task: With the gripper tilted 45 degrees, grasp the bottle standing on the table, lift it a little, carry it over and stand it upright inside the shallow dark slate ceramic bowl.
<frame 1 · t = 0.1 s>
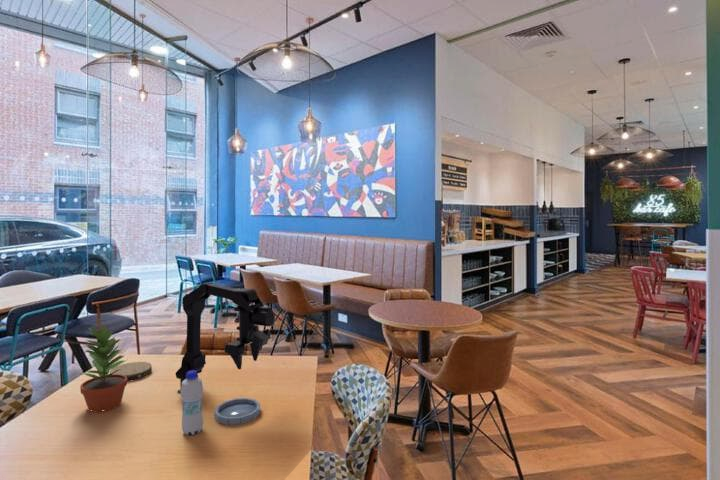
hand: (247, 364, 148), 15 cm above the table, tool pointing down, fingers open, 9 cm apart
bowl: (237, 413, 140), on the table
potted plant: (106, 405, 146), on the table
wood slice: (131, 375, 175), on the table
bottle: (192, 431, 129), on the table
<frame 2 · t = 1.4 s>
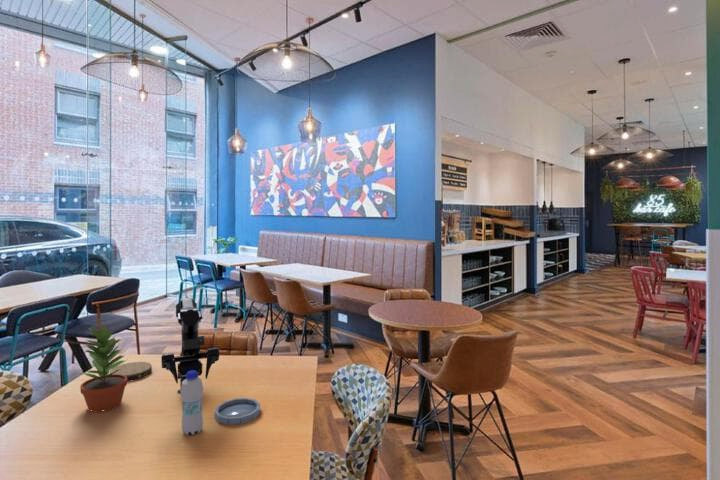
hand: (192, 380, 136), 13 cm above the table, tool tilted 45°, fingers open, 9 cm apart
nothing on the table moved.
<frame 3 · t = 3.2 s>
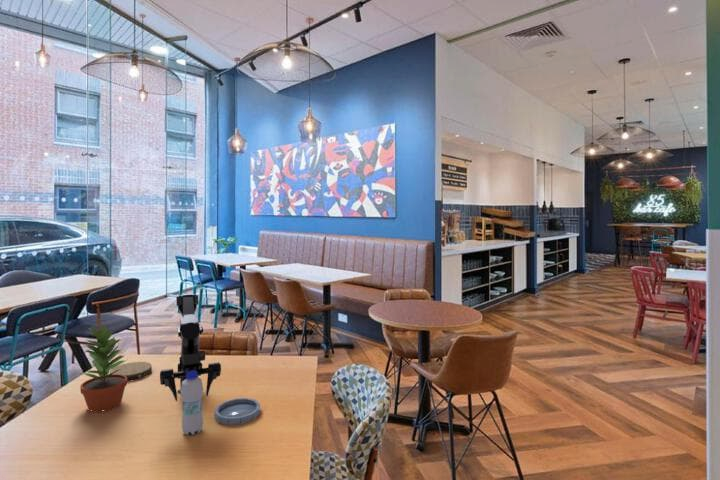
hand: (192, 398, 129), 11 cm above the table, tool tilted 45°, fingers open, 9 cm apart
nothing on the table moved.
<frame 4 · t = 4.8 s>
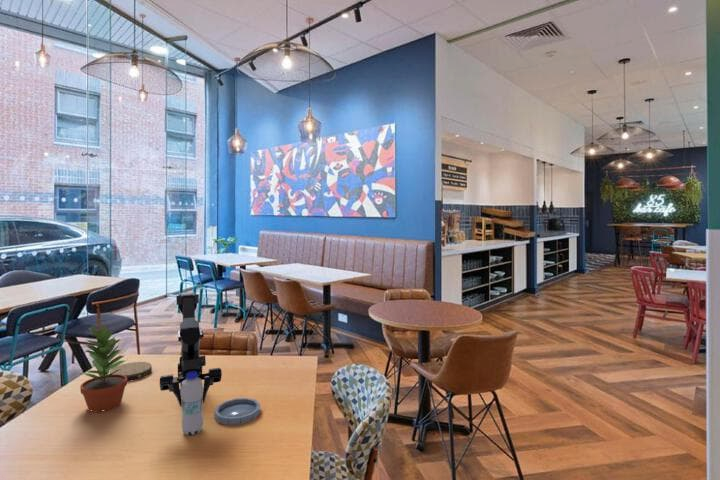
hand: (192, 404, 127), 10 cm above the table, tool tilted 45°, fingers closed on bottle, 6 cm apart
bottle: (192, 431, 129), on the table, touching gripper
everything else where it was.
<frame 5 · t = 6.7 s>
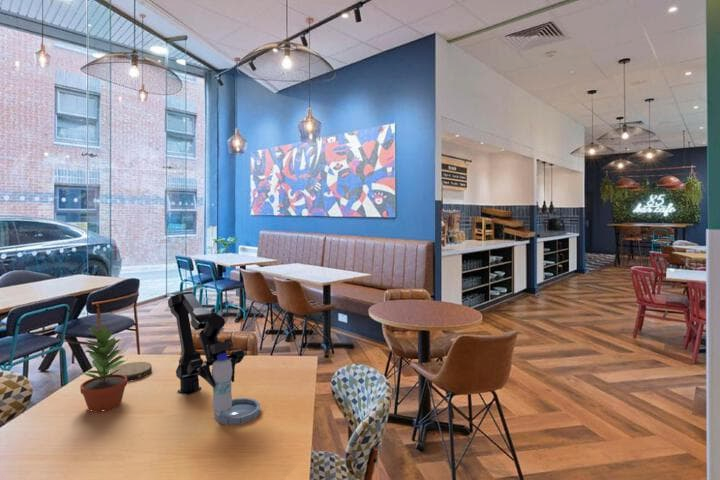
hand: (223, 384, 134), 13 cm above the table, tool tilted 45°, fingers closed on bottle, 6 cm apart
bottle: (222, 411, 135), point 3 cm above the table, touching gripper
everything else where it was.
when the fingers open (11 cm above the table, at t = 8.7 s): bottle stays where it is, resting on bowl.
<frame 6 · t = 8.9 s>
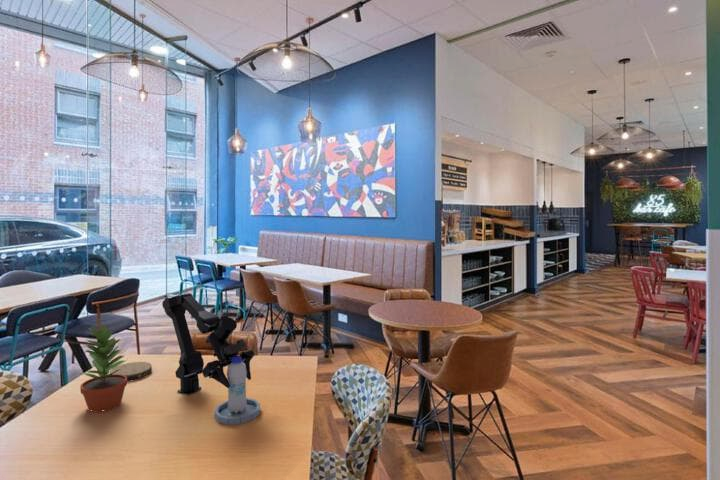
hand: (240, 383, 139), 11 cm above the table, tool tilted 45°, fingers open, 8 cm apart
bottle: (237, 411, 140), point 1 cm above the table, touching bowl
everything else where it was.
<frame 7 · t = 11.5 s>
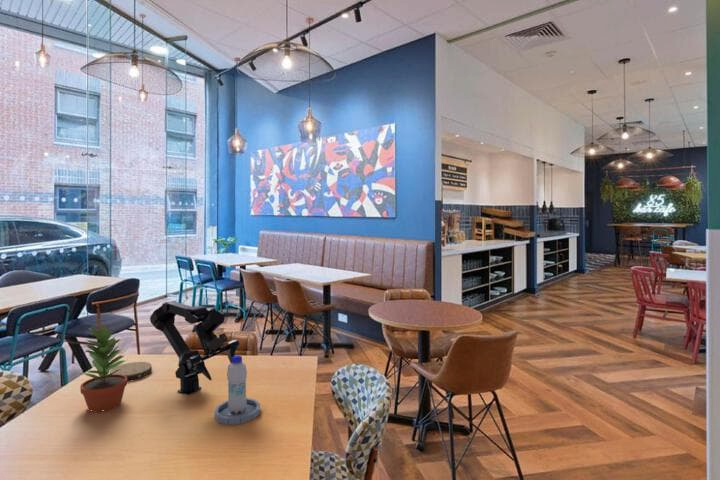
hand: (223, 374, 146), 11 cm above the table, tool tilted 35°, fingers open, 9 cm apart
nothing on the table moved.
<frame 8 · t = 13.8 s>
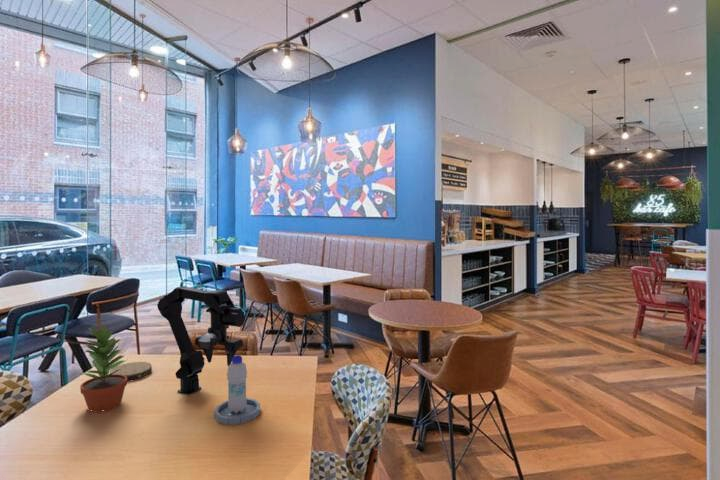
hand: (219, 364, 153), 13 cm above the table, tool pointing down, fingers open, 9 cm apart
nothing on the table moved.
at the end: bottle 0.2 cm off-centre on the bowl, point 0.6 cm above the bowl's base; bottle tilted 0°; the gripper is holding nothing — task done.
